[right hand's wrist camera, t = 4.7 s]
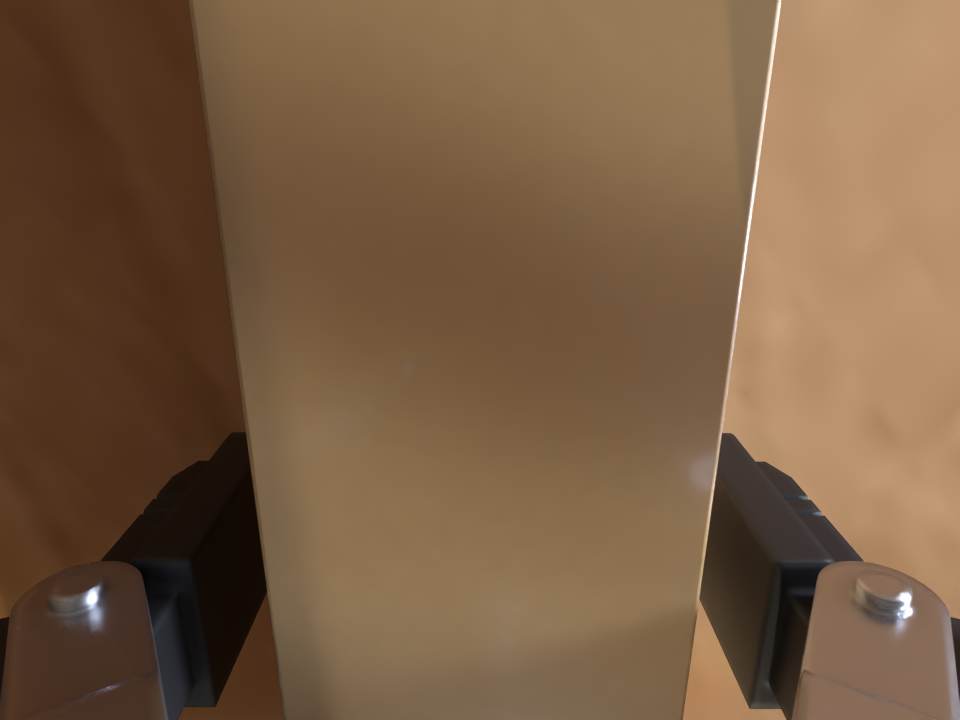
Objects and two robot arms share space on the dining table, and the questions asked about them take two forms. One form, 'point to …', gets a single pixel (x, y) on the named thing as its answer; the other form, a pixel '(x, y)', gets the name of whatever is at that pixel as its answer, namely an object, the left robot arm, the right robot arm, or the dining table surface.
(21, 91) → the dining table surface
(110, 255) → the dining table surface
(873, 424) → the dining table surface
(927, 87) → the dining table surface
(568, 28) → the bar
